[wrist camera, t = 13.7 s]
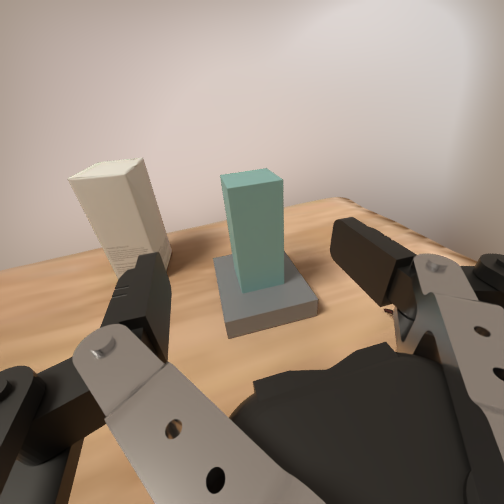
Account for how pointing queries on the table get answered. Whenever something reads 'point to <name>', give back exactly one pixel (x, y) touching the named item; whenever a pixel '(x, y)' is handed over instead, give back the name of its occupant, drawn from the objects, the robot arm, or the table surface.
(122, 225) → the skincare box
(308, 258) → the table surface
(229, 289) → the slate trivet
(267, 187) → the teal block
